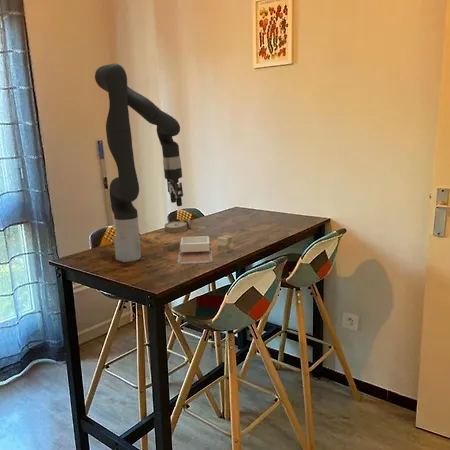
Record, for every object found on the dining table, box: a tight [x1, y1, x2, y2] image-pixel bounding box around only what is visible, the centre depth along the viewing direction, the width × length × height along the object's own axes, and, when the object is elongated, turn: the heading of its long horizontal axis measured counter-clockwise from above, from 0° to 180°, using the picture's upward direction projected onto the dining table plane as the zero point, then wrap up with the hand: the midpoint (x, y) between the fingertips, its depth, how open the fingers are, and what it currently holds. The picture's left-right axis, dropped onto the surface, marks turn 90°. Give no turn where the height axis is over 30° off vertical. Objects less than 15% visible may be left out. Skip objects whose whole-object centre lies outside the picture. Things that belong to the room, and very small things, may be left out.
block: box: [217, 234, 234, 254], centre depth 198 cm, size 4×4×6 cm
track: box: [176, 244, 214, 265], centre depth 195 cm, size 25×14×1 cm, turn 3°
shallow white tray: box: [178, 235, 212, 253], centre depth 200 cm, size 12×13×4 cm
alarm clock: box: [162, 218, 192, 234], centre depth 237 cm, size 11×5×15 cm
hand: (176, 204), depth 203 cm, fingers open, 8 cm apart
